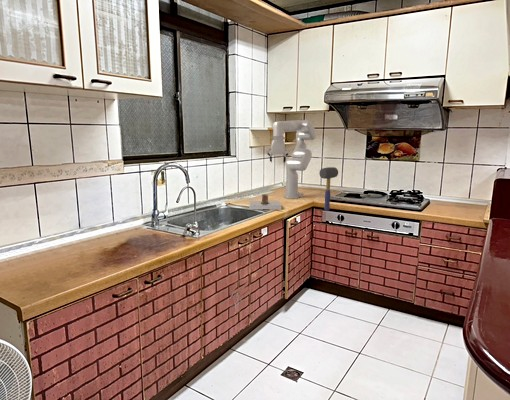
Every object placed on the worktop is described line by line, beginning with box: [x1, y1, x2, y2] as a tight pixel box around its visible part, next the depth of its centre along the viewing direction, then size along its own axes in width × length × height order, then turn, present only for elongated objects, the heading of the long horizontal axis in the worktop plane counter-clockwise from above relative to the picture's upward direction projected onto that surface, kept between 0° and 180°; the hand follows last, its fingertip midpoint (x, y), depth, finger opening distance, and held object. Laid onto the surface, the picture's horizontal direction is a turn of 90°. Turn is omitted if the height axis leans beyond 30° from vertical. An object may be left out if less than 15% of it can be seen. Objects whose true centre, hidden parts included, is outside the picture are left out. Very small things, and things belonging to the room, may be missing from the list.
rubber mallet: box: [318, 166, 339, 212], centre depth 244 cm, size 12×8×30 cm, turn 129°
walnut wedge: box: [261, 193, 269, 204], centre depth 254 cm, size 4×4×9 cm
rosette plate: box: [248, 200, 282, 211], centre depth 255 cm, size 22×14×3 cm, turn 92°
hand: (277, 162), depth 267 cm, fingers open, 9 cm apart
